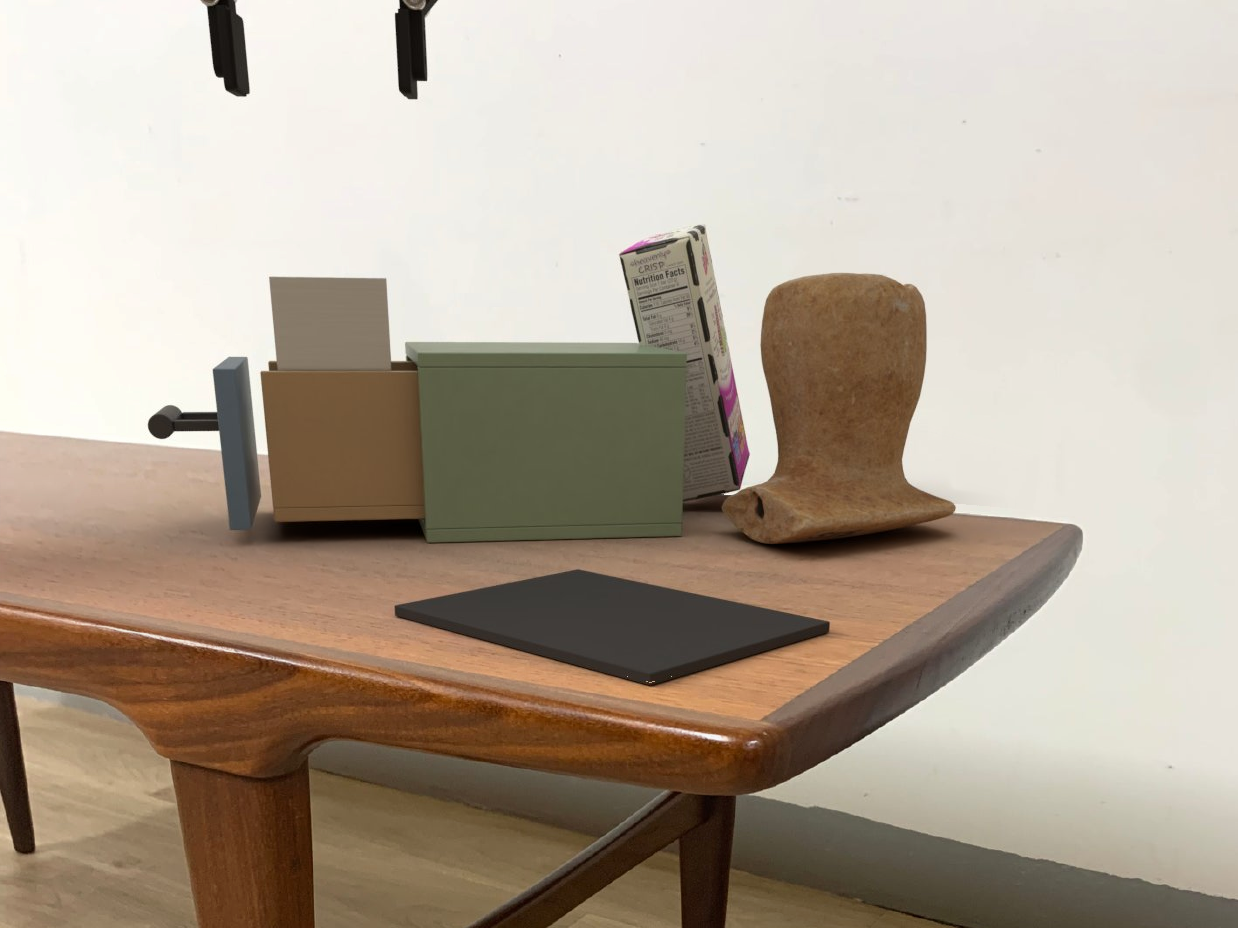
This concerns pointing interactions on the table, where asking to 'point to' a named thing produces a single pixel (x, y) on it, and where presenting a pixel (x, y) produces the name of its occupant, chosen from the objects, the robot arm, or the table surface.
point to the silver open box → (330, 323)
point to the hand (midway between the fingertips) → (323, 95)
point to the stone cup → (839, 410)
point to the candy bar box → (691, 351)
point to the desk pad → (614, 624)
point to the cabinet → (550, 440)
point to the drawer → (315, 442)
